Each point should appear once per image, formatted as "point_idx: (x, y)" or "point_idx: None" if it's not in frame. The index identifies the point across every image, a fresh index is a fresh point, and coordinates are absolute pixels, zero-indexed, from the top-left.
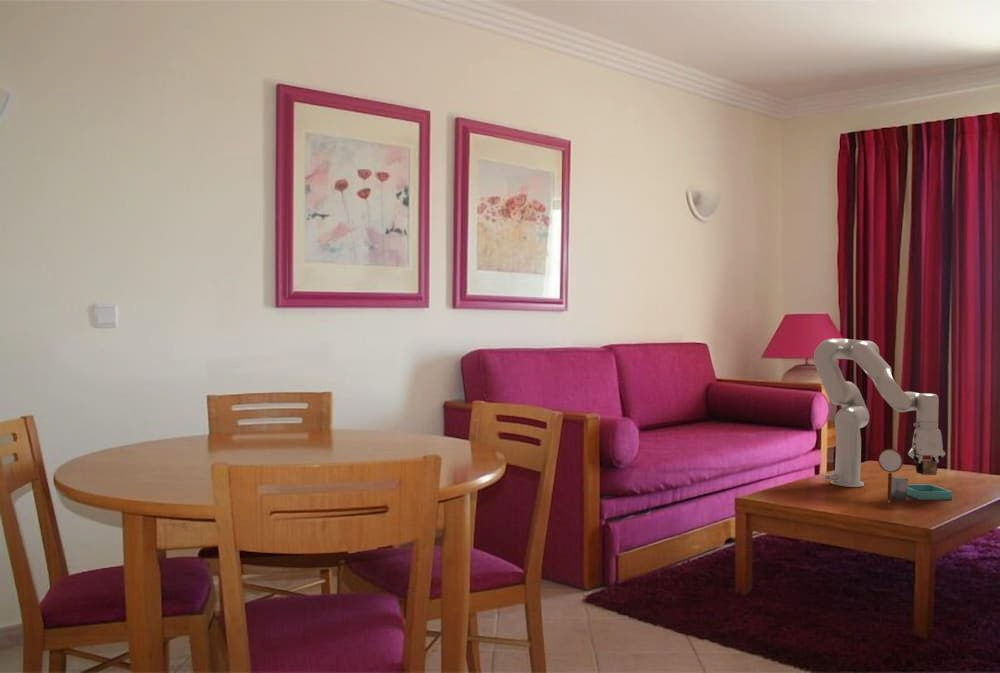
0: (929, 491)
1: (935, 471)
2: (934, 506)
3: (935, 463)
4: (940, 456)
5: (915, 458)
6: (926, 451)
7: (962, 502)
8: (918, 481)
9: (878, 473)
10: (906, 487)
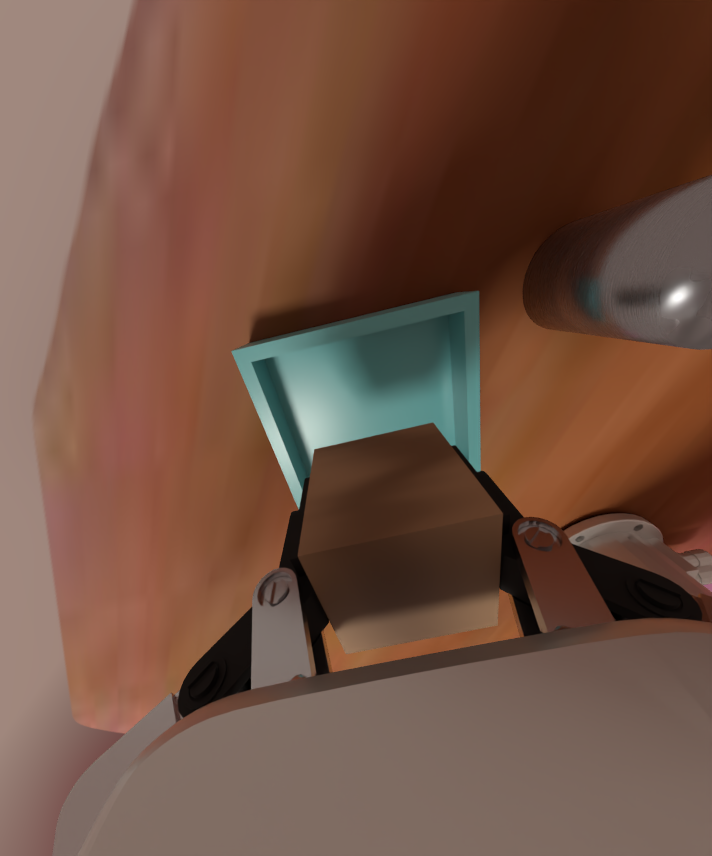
0: (390, 320)
1: (321, 465)
2: (450, 5)
3: (317, 530)
4: (196, 701)
5: (640, 579)
6: (676, 828)
7: (198, 261)
8: None
9: None
10: (638, 208)
